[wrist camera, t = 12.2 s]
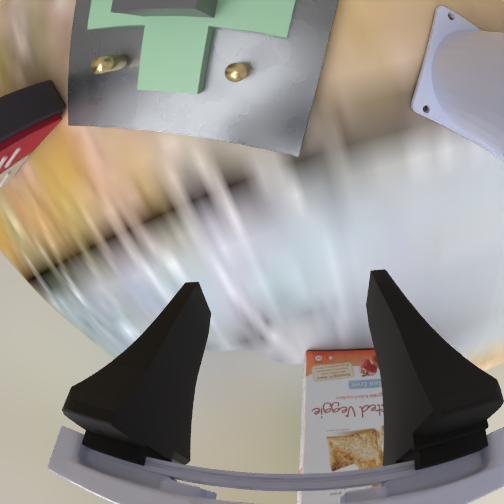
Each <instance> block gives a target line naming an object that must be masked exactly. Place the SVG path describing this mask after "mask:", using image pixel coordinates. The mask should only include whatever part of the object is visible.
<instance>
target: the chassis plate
mask: <svg viewBox="0 0 504 504" xmlns="http://www.w3.org/2000/svg"><path fill="white" fill-rule="evenodd" d="M91 1H92V0H77V1H76V7H75V13H74V20H73V27H72V36H71V46H70V59H69V77H68V125H73V126H97V127H113V128H126V129H137V130H147V131H156V132H165V133H173V134H180V135H188V136H195V137H201V138H208V139H214V140H220V141H225V142H231V143H236V144H242V145H247V146H252V147H257V148H262V149H266V150H271V151H276V152H280V153H285V154H289V155H293V156H297V157H298V156H299V152H300V148H301V145H302V141H303V137H304V134H305V130H306V126H307V122H308V118H309V115H310V111H311V107H312V103H313V99H314V95H315V92H316V88H317V84H318V80H319V76H320V72H321V68H322V64H323V60H324V56H325V52H326V48H327V44H328V40H329V36H330V32H331V28H332V24H333V20H334V15H335V11H336V7H337V3H338V0H296V1H295V5H294V9H293V13H292V17H291V22H290V26H289V30H288V35H287V39H285V38H280V37H275V36H270V35H264V34H258V33H252V32H245V31H238V30H230V29H221V28H214V29H213V34H212V40H211V45H210V51H209V56H208V62H207V68H206V74H205V80H204V87H203V92H202V93H200V94H198V95H195V94H186V93H176V92H165V91H151V90H137V87H138V76H139V66H140V57H141V49H142V42H143V35H144V29H145V26H130V27H116V28H105V29H88V30H87V26H88V19H89V13H90V6H91Z"/></svg>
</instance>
